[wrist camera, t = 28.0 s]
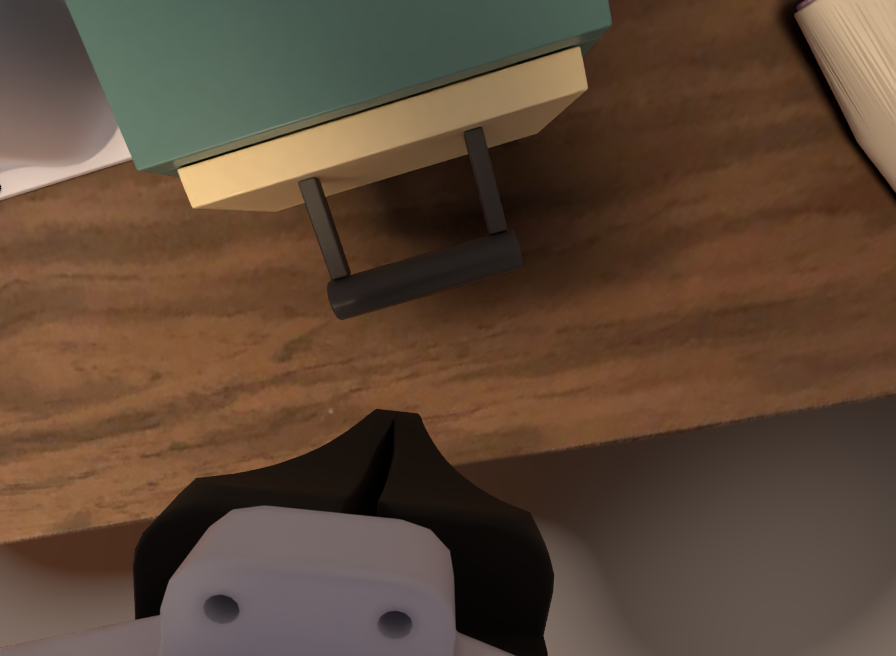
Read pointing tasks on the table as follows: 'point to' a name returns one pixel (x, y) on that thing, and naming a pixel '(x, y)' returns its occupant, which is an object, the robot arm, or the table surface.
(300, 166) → the drawer
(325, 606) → the robot arm
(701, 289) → the table surface
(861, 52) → the infrared thermometer
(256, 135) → the cabinet
